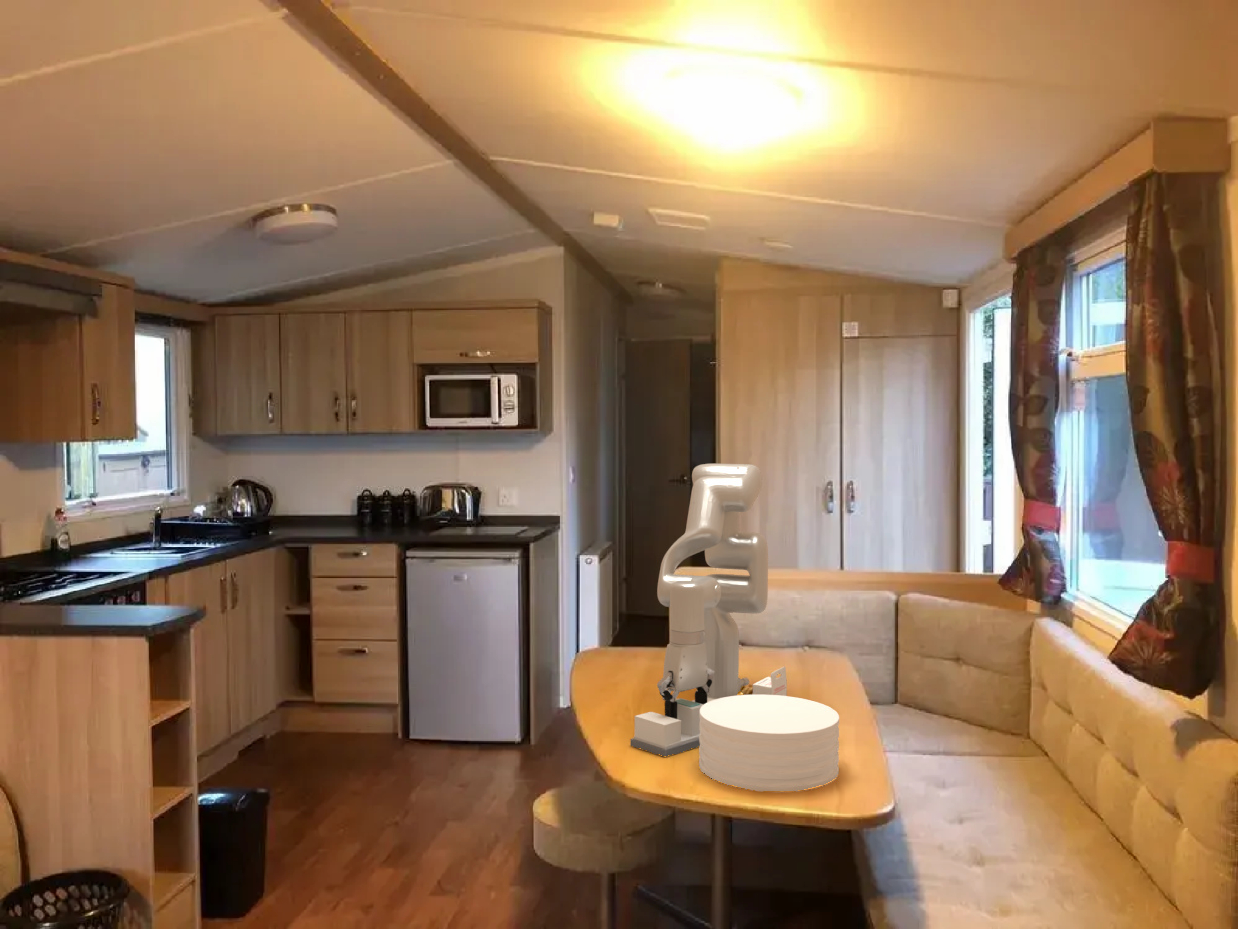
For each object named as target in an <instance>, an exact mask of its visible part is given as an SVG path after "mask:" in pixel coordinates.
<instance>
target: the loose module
mask: <svg viewBox="0 0 1238 929" xmlns="http://www.w3.org/2000/svg"><path fill="white" fill-rule="evenodd" d="M675 701H676V702H677V719H678V720H681V733H682V734H686V735H689V736H692V737H693V736H696V735H699V734H700V730H699V723H700V708H701V707H702V706H703V704H700V703H696V702H693V701H692V700H688V699H685V698H681V697H678V698H676V700H675Z"/></svg>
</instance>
